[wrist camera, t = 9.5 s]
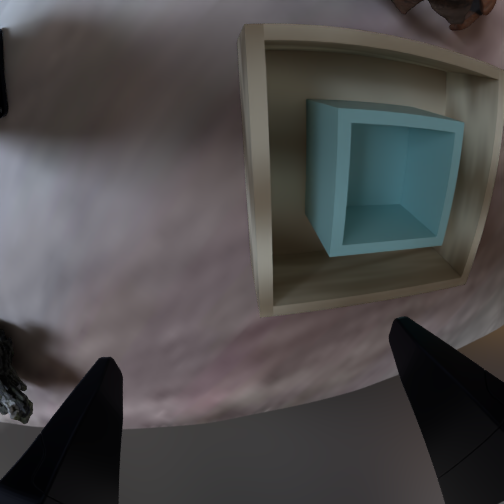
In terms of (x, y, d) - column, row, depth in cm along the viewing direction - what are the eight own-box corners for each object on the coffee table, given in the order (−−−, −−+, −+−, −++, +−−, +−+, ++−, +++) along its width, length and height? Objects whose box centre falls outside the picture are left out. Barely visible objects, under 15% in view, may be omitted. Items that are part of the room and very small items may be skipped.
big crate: (237, 41, 14) (244, 24, 9) (448, 63, 15) (506, 71, 10) (250, 261, 21) (260, 317, 17) (426, 243, 22) (465, 284, 17)
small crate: (304, 213, 19) (329, 256, 15) (306, 99, 15) (338, 108, 11) (401, 208, 20) (441, 245, 15) (412, 107, 16) (464, 122, 12)
